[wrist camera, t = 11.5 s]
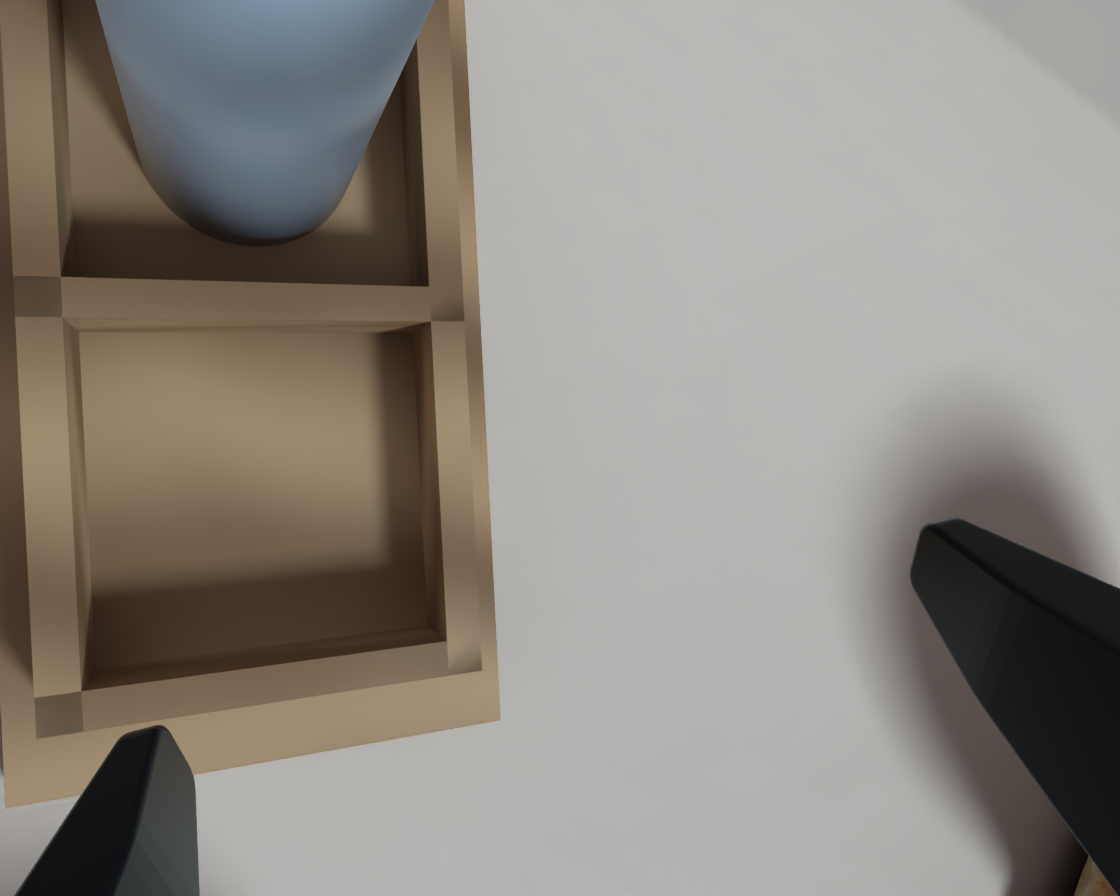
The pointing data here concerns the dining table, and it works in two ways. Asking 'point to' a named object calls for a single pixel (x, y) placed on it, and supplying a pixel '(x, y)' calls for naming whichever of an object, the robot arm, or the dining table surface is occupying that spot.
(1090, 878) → the stone cup
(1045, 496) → the dining table surface
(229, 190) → the blue-grey round cylinder
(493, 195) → the dining table surface
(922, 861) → the dining table surface
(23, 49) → the wooden compartment tray
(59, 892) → the robot arm
